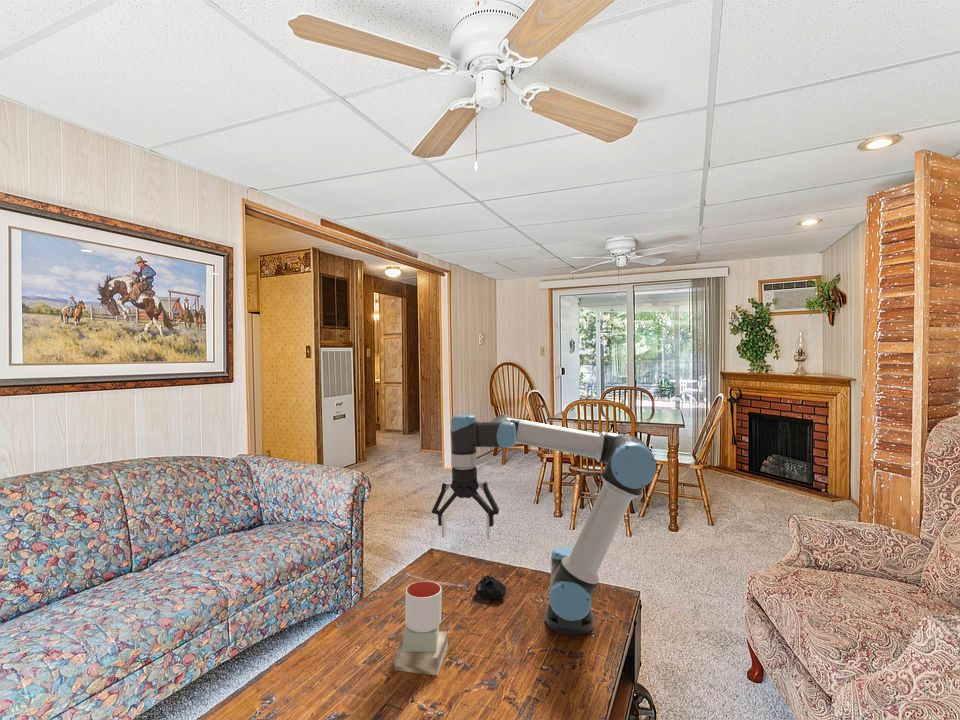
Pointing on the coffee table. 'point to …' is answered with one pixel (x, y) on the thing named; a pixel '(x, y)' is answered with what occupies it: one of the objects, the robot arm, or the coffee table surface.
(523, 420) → the robot arm
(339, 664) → the coffee table surface
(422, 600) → the cup
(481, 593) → the rock
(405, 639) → the tower top
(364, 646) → the coffee table surface
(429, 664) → the tower base
